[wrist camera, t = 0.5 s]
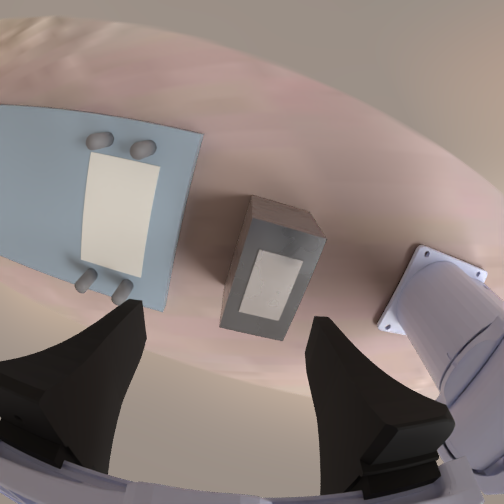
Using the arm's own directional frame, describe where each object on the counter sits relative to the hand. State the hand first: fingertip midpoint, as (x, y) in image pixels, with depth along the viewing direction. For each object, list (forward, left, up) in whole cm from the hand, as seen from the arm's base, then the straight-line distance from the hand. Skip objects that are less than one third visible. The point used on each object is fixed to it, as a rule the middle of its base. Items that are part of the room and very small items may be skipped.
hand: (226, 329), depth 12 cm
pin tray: (+14, 0, -9) cm, 17 cm away
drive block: (-2, 0, -10) cm, 10 cm away
